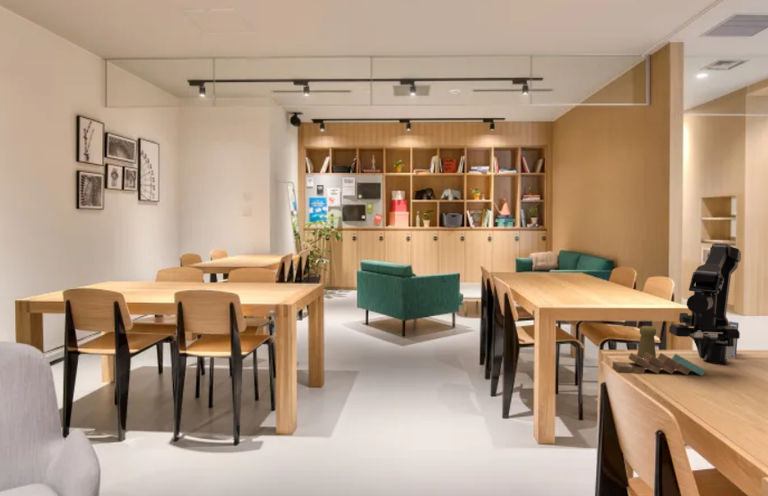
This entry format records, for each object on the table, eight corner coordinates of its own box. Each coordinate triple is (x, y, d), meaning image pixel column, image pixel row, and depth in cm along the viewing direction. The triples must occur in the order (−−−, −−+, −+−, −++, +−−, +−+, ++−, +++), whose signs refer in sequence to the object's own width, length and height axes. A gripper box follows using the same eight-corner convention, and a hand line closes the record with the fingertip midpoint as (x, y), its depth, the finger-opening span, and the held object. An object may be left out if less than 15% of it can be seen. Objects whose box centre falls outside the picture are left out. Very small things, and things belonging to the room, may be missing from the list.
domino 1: (638, 362, 170) (613, 361, 170) (644, 367, 165) (618, 366, 165) (637, 369, 170) (612, 367, 170) (644, 374, 165) (618, 372, 165)
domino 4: (683, 365, 169) (660, 352, 169) (690, 369, 164) (667, 357, 164) (679, 370, 169) (657, 358, 169) (687, 375, 164) (664, 362, 164)
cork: (645, 360, 180) (646, 328, 179) (632, 355, 186) (634, 324, 185) (660, 359, 181) (661, 328, 180) (647, 354, 187) (649, 324, 186)
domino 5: (697, 365, 168) (675, 353, 169) (705, 370, 163) (682, 357, 164) (693, 371, 168) (671, 358, 169) (701, 376, 163) (679, 363, 164)
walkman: (727, 352, 191) (729, 320, 190) (736, 354, 190) (738, 321, 189) (724, 357, 185) (726, 323, 184) (733, 358, 184) (736, 325, 183)
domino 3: (668, 364, 169) (645, 351, 170) (675, 368, 164) (652, 356, 165) (664, 369, 169) (642, 357, 170) (671, 374, 164) (649, 361, 165)
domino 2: (653, 363, 169) (631, 352, 170) (661, 368, 164) (637, 357, 165) (650, 369, 170) (628, 358, 170) (657, 374, 165) (634, 362, 165)
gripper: (722, 305, 171) (719, 352, 173) (662, 303, 173) (660, 350, 174) (742, 312, 160) (738, 362, 162) (678, 310, 162) (675, 359, 163)
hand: (702, 358), depth 165 cm, fingers closed
